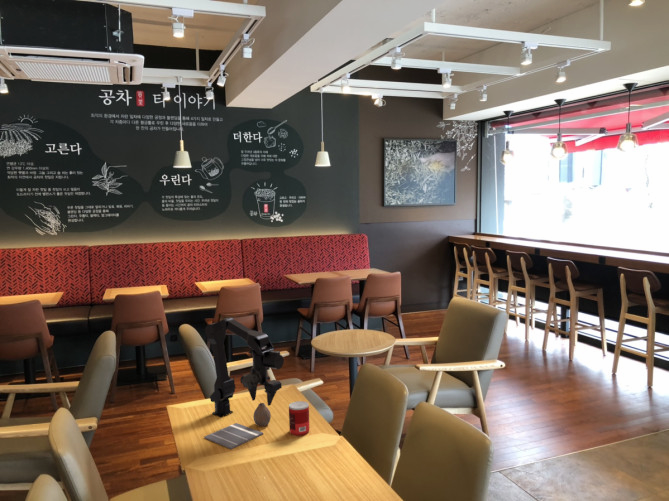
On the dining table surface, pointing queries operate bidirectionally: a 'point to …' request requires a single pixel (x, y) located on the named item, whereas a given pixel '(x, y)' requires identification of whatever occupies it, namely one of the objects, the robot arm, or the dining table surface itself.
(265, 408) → the vase
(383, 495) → the dining table surface
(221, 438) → the mat
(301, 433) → the canned food
